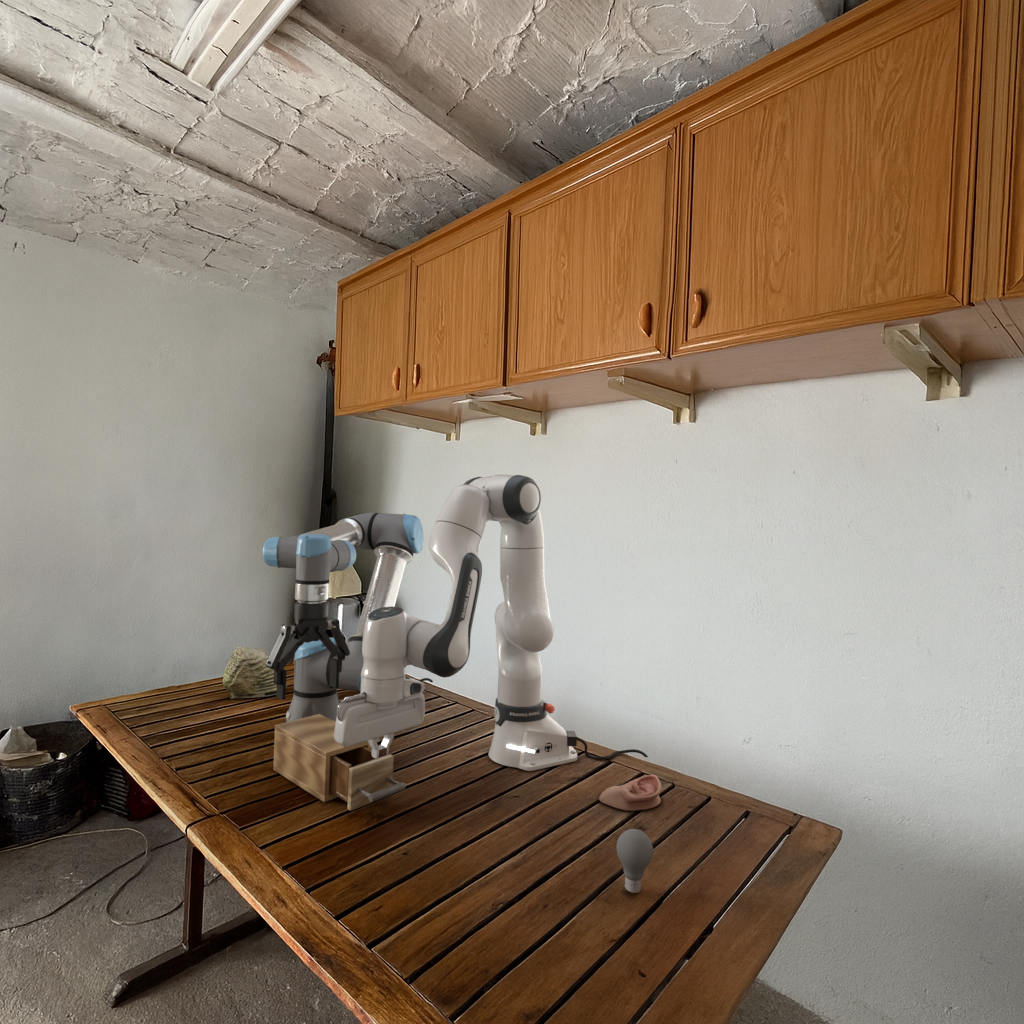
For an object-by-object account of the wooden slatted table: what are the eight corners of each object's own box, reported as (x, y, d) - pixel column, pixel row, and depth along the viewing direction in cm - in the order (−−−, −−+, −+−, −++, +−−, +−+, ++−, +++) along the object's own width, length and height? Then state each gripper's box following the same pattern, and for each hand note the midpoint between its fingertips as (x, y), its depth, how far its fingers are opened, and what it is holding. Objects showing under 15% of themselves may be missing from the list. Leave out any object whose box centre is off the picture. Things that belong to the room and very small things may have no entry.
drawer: (409, 804, 130) (410, 764, 130) (367, 821, 122) (369, 779, 122) (338, 765, 147) (340, 729, 147) (298, 778, 140) (299, 741, 139)
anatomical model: (598, 788, 134) (602, 766, 145) (597, 806, 134) (601, 783, 146) (662, 796, 132) (661, 774, 143) (662, 815, 132) (660, 791, 143)
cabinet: (370, 785, 140) (372, 738, 140) (324, 802, 131) (326, 752, 131) (317, 756, 154) (319, 713, 154) (273, 769, 146) (274, 724, 145)
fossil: (218, 695, 195) (220, 647, 195) (278, 685, 208) (279, 640, 207) (228, 703, 189) (230, 653, 188) (289, 692, 201) (290, 645, 201)
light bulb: (610, 879, 108) (613, 822, 108) (644, 879, 109) (647, 822, 109) (619, 902, 102) (622, 840, 102) (655, 901, 103) (658, 840, 103)
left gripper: (268, 608, 135) (264, 707, 135) (366, 598, 153) (363, 685, 154) (251, 603, 140) (248, 699, 140) (348, 594, 158) (345, 678, 159)
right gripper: (347, 702, 118) (344, 776, 119) (430, 682, 134) (428, 747, 134) (329, 694, 123) (326, 765, 123) (411, 676, 138) (408, 739, 138)
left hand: (308, 692), depth 147 cm, fingers open, 13 cm apart
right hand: (379, 756), depth 129 cm, fingers closed
